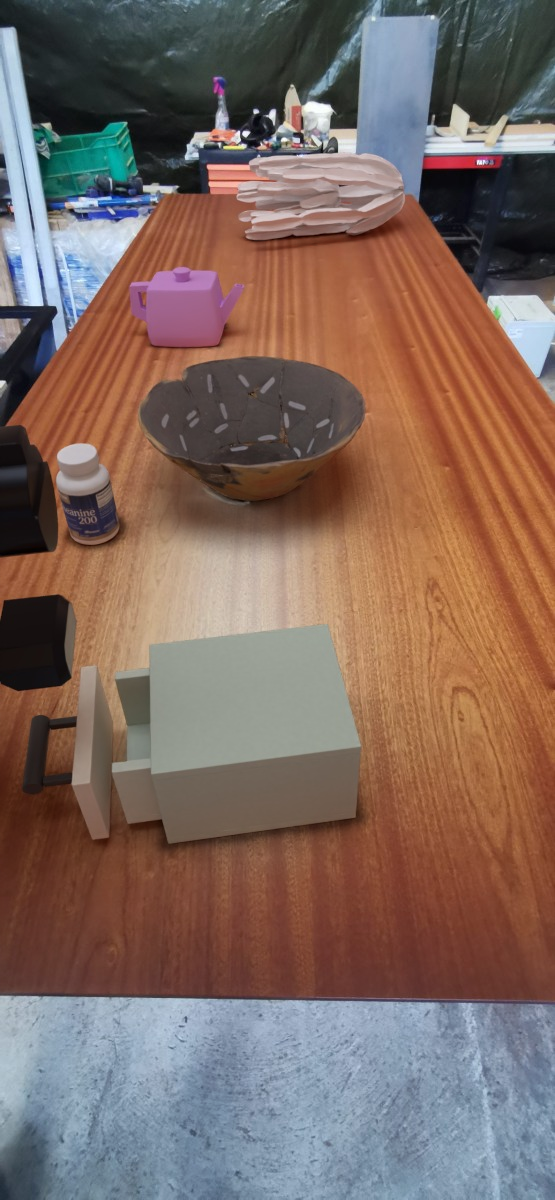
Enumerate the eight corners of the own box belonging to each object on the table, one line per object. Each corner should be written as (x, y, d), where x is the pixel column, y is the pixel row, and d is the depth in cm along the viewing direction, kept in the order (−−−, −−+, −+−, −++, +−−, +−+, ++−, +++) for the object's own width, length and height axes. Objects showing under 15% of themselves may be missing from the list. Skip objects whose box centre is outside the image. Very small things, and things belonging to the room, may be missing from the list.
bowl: (324, 566, 75) (325, 483, 68) (110, 521, 81) (93, 441, 75) (385, 443, 92) (391, 367, 85) (205, 415, 99) (197, 342, 92)
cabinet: (168, 844, 52) (150, 774, 47) (164, 716, 61) (149, 644, 55) (355, 818, 53) (361, 746, 48) (326, 696, 62) (328, 623, 56)
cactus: (388, 163, 160) (228, 171, 157) (414, 123, 143) (235, 131, 139) (393, 246, 163) (237, 256, 159) (420, 217, 146) (244, 227, 142)
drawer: (32, 848, 51) (5, 793, 47) (46, 730, 59) (24, 673, 54) (268, 815, 53) (264, 759, 48) (252, 704, 60) (247, 646, 56)
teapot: (249, 322, 122) (246, 256, 115) (243, 349, 114) (239, 280, 107) (142, 322, 123) (132, 257, 116) (129, 348, 115) (117, 281, 108)
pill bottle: (60, 540, 79) (38, 462, 73) (87, 512, 83) (69, 435, 76) (103, 551, 77) (84, 472, 71) (129, 522, 81) (114, 444, 75)
